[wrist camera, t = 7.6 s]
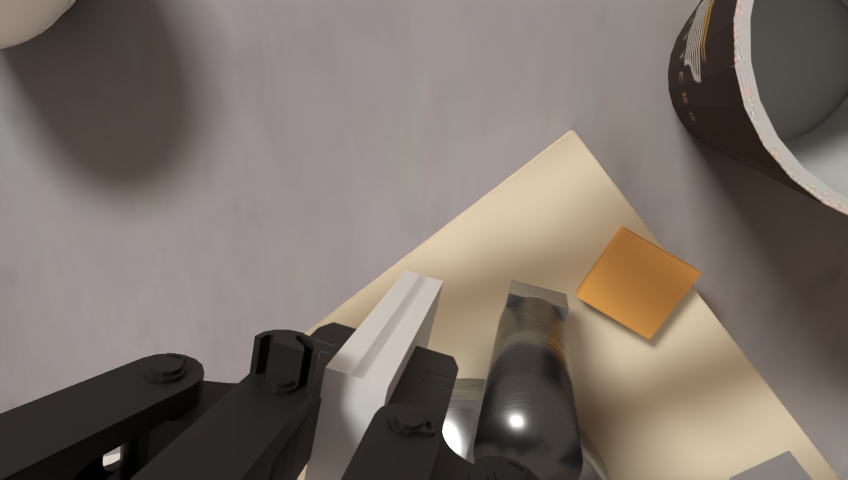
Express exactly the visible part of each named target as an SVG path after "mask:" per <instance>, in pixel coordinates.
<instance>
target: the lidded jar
mask: <svg viewBox="0 0 848 480" xmlns="http://www.w3.org/2000/svg"><path fill="white" fill-rule="evenodd" d="M76 1H77V0H0V49H3V48H7V47H11V46H14V45H18V44H21V43H23V42H26V41H28V40H30V39H32V38H34V37H36V36H37V35H39V34H41V33H43V32H44V31H45V30H46V29H48V28H49V27H50V26H52V25H53V24H54V23H55V22H56V20H57V19H58V18H59V17H60V16H61V15H63V14H64V13H65V12H67V11H68V10H69V9H70V8H71V7H72V6H73V5H74V4H75V2H76Z"/></svg>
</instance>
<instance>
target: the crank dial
mask: <svg viewBox="0 0 848 480" xmlns="http://www.w3.org/2000/svg"><path fill="white" fill-rule="evenodd" d="M568 310H569V307H568V301H567V295H566V294H565V293H561V292H557V291H553V290H549V289H545V288H542V287H538V286H534V285H530V284H526V283H522V282H519V281H515V280H511V284H510V287H509V291H508V295H507V299H506V303H505V307H504V310H503V312H502V314H501V316H500V319H499V323H498V328H497V333H496V338H495V343H494V348H493V352H492V356H491V360H490V364H489V368H488V372H487V375H486V379H477V378H456V381H455V385H454V388H453V392H452V396H451V399H450V403H449V407H448V411H447V414H446V418H445V422H444V425H443V435H444V438H445V440H446V442H447V443H448V445H449V446H450V447H451V448H452V449H453V450H454V451H455V452H456V453H457V454H458V455H460V456H461V457H462V458H464V459H465V460H467V461H469V462H470V463H472V464H474V463H475V462H476V460H477V459H480V458H483V457H486V456H502V457H506V458H509V459H512V460H515V461H517V462H519V463H520V464H522V465H524V466H526V467H527V468H529V469H530V470H531V471H532V472H533V473H534V474H535V475H536V476H537V477H538V478H539V480H611V479H610V476H609V474H608V471H607V468H606V466H605V463H604V461H603V459H602V457H601V456H600V454H599V452H598V450H597V448H596V447H595V446H594V444H593V443H592V441H591V440H590V439H589V437H588V436H587V434H586V433H585V432H584V431H583V430H582V429H581V428H580V427H579V426H578V418H577V411H576V404H575V397H574V389H573V382H572V375H571V368H570V360H569V353H568V346H567V339H566V331H565V320H566V317H567V314H568Z"/></svg>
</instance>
